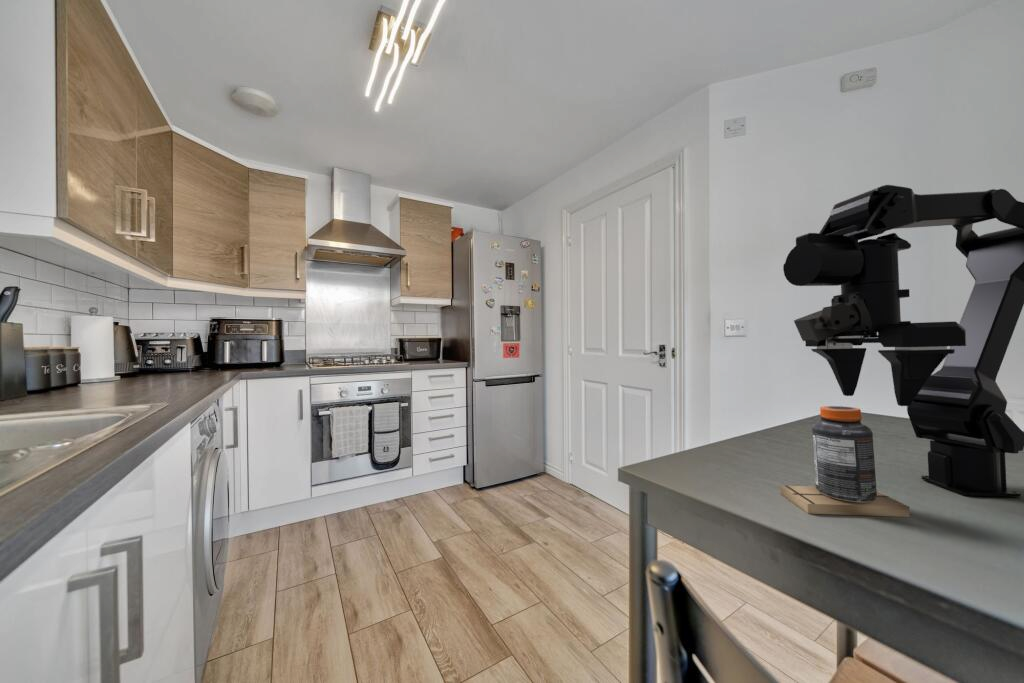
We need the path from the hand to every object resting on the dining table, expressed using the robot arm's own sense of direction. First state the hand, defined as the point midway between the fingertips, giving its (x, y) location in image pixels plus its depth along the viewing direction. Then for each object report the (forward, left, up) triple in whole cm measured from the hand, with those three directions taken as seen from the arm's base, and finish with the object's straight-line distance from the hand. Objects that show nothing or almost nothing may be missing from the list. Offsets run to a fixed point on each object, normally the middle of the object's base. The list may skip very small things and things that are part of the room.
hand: (873, 400), depth 51 cm
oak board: (+6, +3, -13) cm, 15 cm away
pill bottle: (+6, +3, -12) cm, 14 cm away
